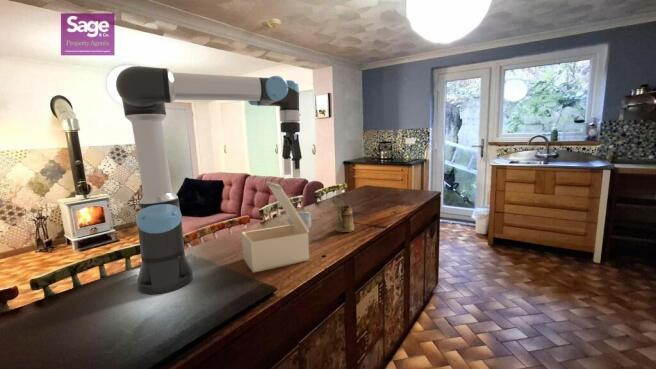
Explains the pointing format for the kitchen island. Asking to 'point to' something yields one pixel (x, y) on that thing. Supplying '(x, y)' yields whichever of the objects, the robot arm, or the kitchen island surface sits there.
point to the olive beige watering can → (343, 215)
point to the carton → (275, 247)
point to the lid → (287, 205)
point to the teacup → (305, 217)
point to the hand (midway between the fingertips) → (291, 176)
